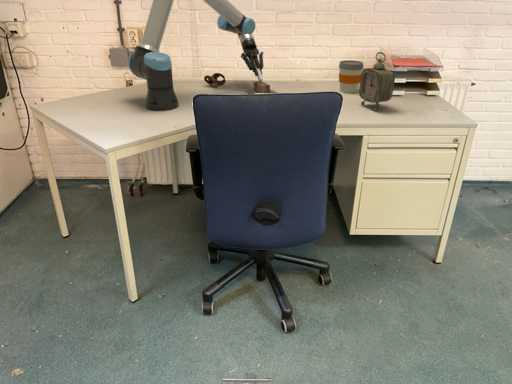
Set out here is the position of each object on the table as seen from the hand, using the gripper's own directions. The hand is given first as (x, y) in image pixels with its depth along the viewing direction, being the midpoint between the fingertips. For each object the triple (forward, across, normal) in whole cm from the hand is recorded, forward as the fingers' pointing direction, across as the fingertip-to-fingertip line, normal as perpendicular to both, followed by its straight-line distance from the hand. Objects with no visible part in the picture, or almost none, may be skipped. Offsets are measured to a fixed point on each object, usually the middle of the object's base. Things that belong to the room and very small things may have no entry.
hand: (260, 80), depth 211 cm
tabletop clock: (+38, -37, +29) cm, 60 cm away
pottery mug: (-11, +18, -20) cm, 29 cm away
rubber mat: (+5, 0, -4) cm, 6 cm away
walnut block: (-1, 0, -6) cm, 6 cm away
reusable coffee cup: (+16, -45, +7) cm, 48 cm away
